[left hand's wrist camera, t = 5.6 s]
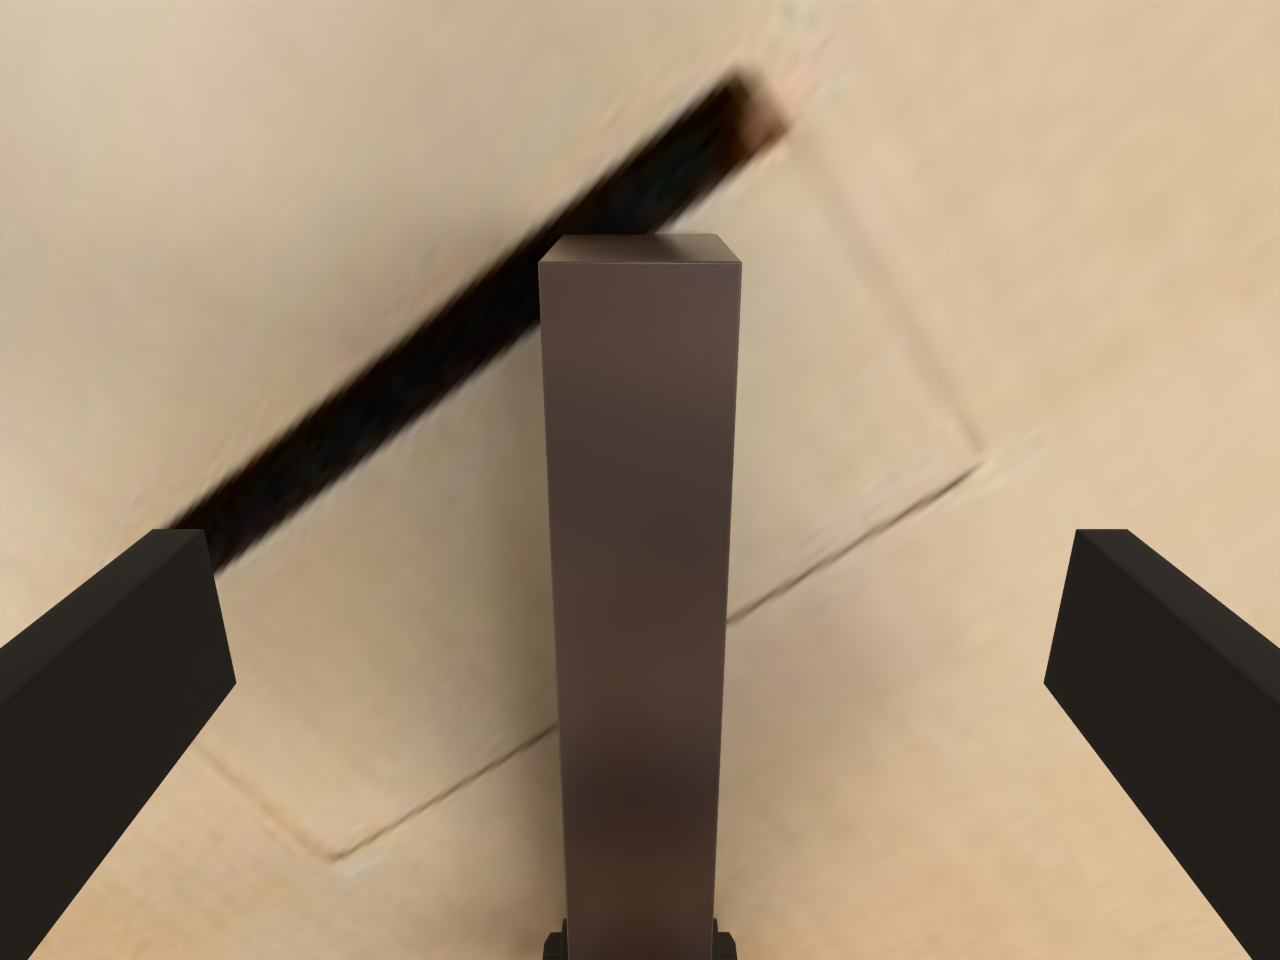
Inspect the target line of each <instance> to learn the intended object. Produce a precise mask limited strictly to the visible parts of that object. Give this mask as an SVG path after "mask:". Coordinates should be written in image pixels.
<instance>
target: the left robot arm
mask: <svg viewBox="0 0 1280 960" xmlns="http://www.w3.org/2000/svg"><path fill="white" fill-rule="evenodd" d="M235 684H236V679H235V674H234V670H233V665H232V660H231V655H230V651H229V646H228V641H227V637H226V632H225V627H224V622H223V618H222V613H221V608H220V604H219V599H218V594H217V589H216V585H215V580H214V575H213V571H212V566H211V561H210V556H209V552H208V547H207V542H206V538H205V533H204V529H153V530H151V531H150V532H149V533H147V534H146V535H145V536H144V537H142V538H141V539H140V540H138V541H137V542H136V543H135V544H133V545H132V546H131V547H130V548H128V549H127V550H126V551H124V552H123V553H122V554H121V555H119V556H118V557H117V558H115V559H114V560H113V561H112V562H110V563H109V564H108V565H106V566H105V567H104V568H103V569H101V570H100V571H99V572H98V573H96V574H95V575H94V576H92V577H91V578H90V579H89V580H87V581H86V582H85V583H83V584H82V585H81V586H80V587H78V588H77V589H76V590H74V591H73V592H72V593H71V594H69V595H68V596H67V597H66V598H64V599H63V600H62V601H60V602H59V603H58V604H57V605H55V606H54V607H53V608H51V609H50V610H49V611H48V612H46V613H45V614H44V615H42V616H41V617H40V618H39V619H37V620H36V621H35V622H33V623H32V624H31V625H30V626H28V627H27V628H26V629H25V630H23V631H22V632H21V633H19V634H18V635H17V636H16V637H14V638H13V639H12V640H10V641H9V642H8V643H7V644H5V645H4V646H3V647H1V648H0V960H28V959H29V957H30V956H31V955H32V953H33V952H34V951H35V949H36V948H37V947H38V945H39V944H40V943H41V941H42V940H43V939H44V937H45V936H46V935H47V933H48V932H49V931H50V929H51V928H52V927H53V925H54V924H55V923H56V921H57V920H58V919H59V917H60V916H61V915H62V913H63V912H64V911H65V910H66V908H67V907H68V906H69V904H70V903H71V902H72V900H73V899H74V898H75V896H76V895H77V894H78V892H79V891H80V890H81V888H82V887H83V886H84V884H85V883H86V882H87V880H88V879H89V878H90V876H91V875H92V874H93V872H94V871H95V870H96V868H97V867H98V866H99V864H100V863H101V862H102V861H103V859H104V858H105V857H106V855H107V854H108V853H109V851H110V850H111V849H112V847H113V846H114V845H115V843H116V842H117V841H118V839H119V838H120V837H121V835H122V834H123V833H124V831H125V830H126V829H127V827H128V826H129V825H130V823H131V822H132V821H133V819H134V818H135V817H136V816H137V814H138V813H139V812H140V810H141V809H142V808H143V806H144V805H145V804H146V802H147V801H148V800H149V798H150V797H151V796H152V794H153V793H154V792H155V790H156V789H157V788H158V786H159V785H160V784H161V782H162V781H163V780H164V778H165V777H166V776H167V774H168V773H169V772H170V770H171V769H172V768H173V767H174V765H175V764H176V763H177V761H178V760H179V759H180V757H181V756H182V755H183V753H184V752H185V751H186V749H187V748H188V747H189V745H190V744H191V743H192V741H193V740H194V739H195V737H196V736H197V735H198V733H199V732H200V731H201V729H202V728H203V727H204V725H205V724H206V723H207V721H208V720H209V719H210V718H211V716H212V715H213V714H214V712H215V711H216V710H217V708H218V707H219V706H220V704H221V703H222V702H223V700H224V699H225V698H226V696H227V695H228V694H229V692H230V691H231V690H232V688H233V687H234V686H235ZM1044 684H1045V686H1046V687H1047V688H1048V690H1049V691H1050V692H1051V694H1052V695H1053V696H1054V698H1055V699H1056V700H1057V702H1058V703H1059V704H1060V706H1061V707H1062V708H1063V710H1064V711H1065V712H1066V714H1067V715H1068V716H1069V718H1070V719H1071V720H1072V721H1073V723H1074V724H1075V725H1076V727H1077V728H1078V729H1079V731H1080V732H1081V733H1082V735H1083V736H1084V737H1085V739H1086V740H1087V741H1088V743H1089V744H1090V745H1091V747H1092V748H1093V749H1094V751H1095V752H1096V753H1097V755H1098V756H1099V757H1100V759H1101V760H1102V761H1103V763H1104V764H1105V765H1106V767H1107V768H1108V769H1109V770H1110V772H1111V773H1112V774H1113V776H1114V777H1115V778H1116V780H1117V781H1118V782H1119V784H1120V785H1121V786H1122V788H1123V789H1124V790H1125V792H1126V793H1127V794H1128V796H1129V797H1130V798H1131V800H1132V801H1133V802H1134V804H1135V805H1136V806H1137V808H1138V809H1139V810H1140V812H1141V813H1142V814H1143V816H1144V817H1145V818H1146V819H1147V821H1148V822H1149V823H1150V825H1151V826H1152V827H1153V829H1154V830H1155V831H1156V833H1157V834H1158V835H1159V837H1160V838H1161V839H1162V841H1163V842H1164V843H1165V845H1166V846H1167V847H1168V849H1169V850H1170V851H1171V853H1172V854H1173V855H1174V857H1175V858H1176V859H1177V861H1178V862H1179V863H1180V864H1181V866H1182V867H1183V868H1184V870H1185V871H1186V872H1187V874H1188V875H1189V876H1190V878H1191V879H1192V880H1193V882H1194V883H1195V884H1196V886H1197V887H1198V888H1199V890H1200V891H1201V892H1202V894H1203V895H1204V896H1205V898H1206V899H1207V900H1208V902H1209V903H1210V904H1211V906H1212V907H1213V908H1214V910H1215V911H1216V912H1217V913H1218V915H1219V916H1220V917H1221V919H1222V920H1223V921H1224V923H1225V924H1226V925H1227V927H1228V928H1229V929H1230V931H1231V932H1232V933H1233V935H1234V936H1235V937H1236V939H1237V940H1238V941H1239V943H1240V944H1241V945H1242V947H1243V948H1244V949H1245V951H1246V952H1247V953H1248V955H1249V956H1250V957H1251V959H1252V960H1280V648H1279V647H1277V646H1276V645H1275V644H1273V643H1272V642H1271V641H1270V640H1268V639H1267V638H1266V637H1264V636H1263V635H1262V634H1261V633H1259V632H1258V631H1257V630H1255V629H1254V628H1253V627H1252V626H1250V625H1249V624H1248V623H1247V622H1245V621H1244V620H1243V619H1241V618H1240V617H1239V616H1238V615H1236V614H1235V613H1234V612H1232V611H1231V610H1230V609H1229V608H1227V607H1226V606H1225V605H1223V604H1222V603H1221V602H1220V601H1218V600H1217V599H1216V598H1214V597H1213V596H1212V595H1211V594H1209V593H1208V592H1207V591H1206V590H1204V589H1203V588H1202V587H1200V586H1199V585H1198V584H1197V583H1195V582H1194V581H1193V580H1191V579H1190V578H1189V577H1188V576H1186V575H1185V574H1184V573H1182V572H1181V571H1180V570H1179V569H1177V568H1176V567H1175V566H1174V565H1172V564H1171V563H1170V562H1168V561H1167V560H1166V559H1165V558H1163V557H1162V556H1161V555H1159V554H1158V553H1157V552H1156V551H1154V550H1153V549H1152V548H1150V547H1149V546H1148V545H1147V544H1145V543H1144V542H1143V541H1142V540H1140V539H1139V538H1138V537H1136V536H1135V535H1134V534H1133V533H1131V532H1130V531H1129V530H1127V529H1076V533H1075V538H1074V542H1073V547H1072V552H1071V556H1070V561H1069V566H1068V571H1067V575H1066V580H1065V585H1064V589H1063V594H1062V599H1061V604H1060V608H1059V613H1058V618H1057V622H1056V627H1055V632H1054V637H1053V641H1052V646H1051V651H1050V655H1049V660H1048V665H1047V670H1046V674H1045V679H1044Z"/></svg>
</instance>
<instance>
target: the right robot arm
mask: <svg viewBox="0 0 1280 960" xmlns="http://www.w3.org/2000/svg"><path fill="white" fill-rule="evenodd" d="M543 960H569V959H568V936H567V918H564V919H563V926H562V932H551V933H550V935H549V936H548V938H547V940H546V942H545V944H544V952H543ZM711 960H737V953H736V945H735V942H734V940H733V938H732V936H731V935H730V933H729V932H718V927H717V919H716V918H713V933H712V956H711Z"/></svg>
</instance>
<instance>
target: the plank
mask: <svg viewBox="0 0 1280 960" xmlns="http://www.w3.org/2000/svg"><path fill="white" fill-rule="evenodd" d="M538 271H539V294H540V317H541V340H542V363H543V386H544V409H545V432H546V455H547V478H548V500H549V523H550V546H551V569H552V592H553V615H554V638H555V661H556V684H557V707H558V730H559V753H560V776H561V799H562V822H563V845H564V868H565V891H566V914H567V936H568V959H569V960H711V956H712V933H713V911H714V888H715V865H716V843H717V820H718V798H719V775H720V752H721V730H722V707H723V685H724V662H725V639H726V617H727V594H728V571H729V549H730V526H731V504H732V481H733V458H734V436H735V413H736V390H737V368H738V345H739V323H740V300H741V277H742V262H741V261H740V260H739V259H738V258H737V256H736V255H735V254H734V253H733V252H732V251H731V250H730V249H729V248H728V246H727V245H726V244H725V243H724V242H723V241H722V240H721V239H720V238H719V236H718V235H642V234H564V235H563V236H562V237H561V238H560V239H559V240H558V241H557V242H556V243H555V244H554V246H553V247H552V248H551V249H550V250H549V251H548V252H547V253H546V255H545V256H544V257H543V258H542V259H541V260H540V261H539V263H538Z"/></svg>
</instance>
